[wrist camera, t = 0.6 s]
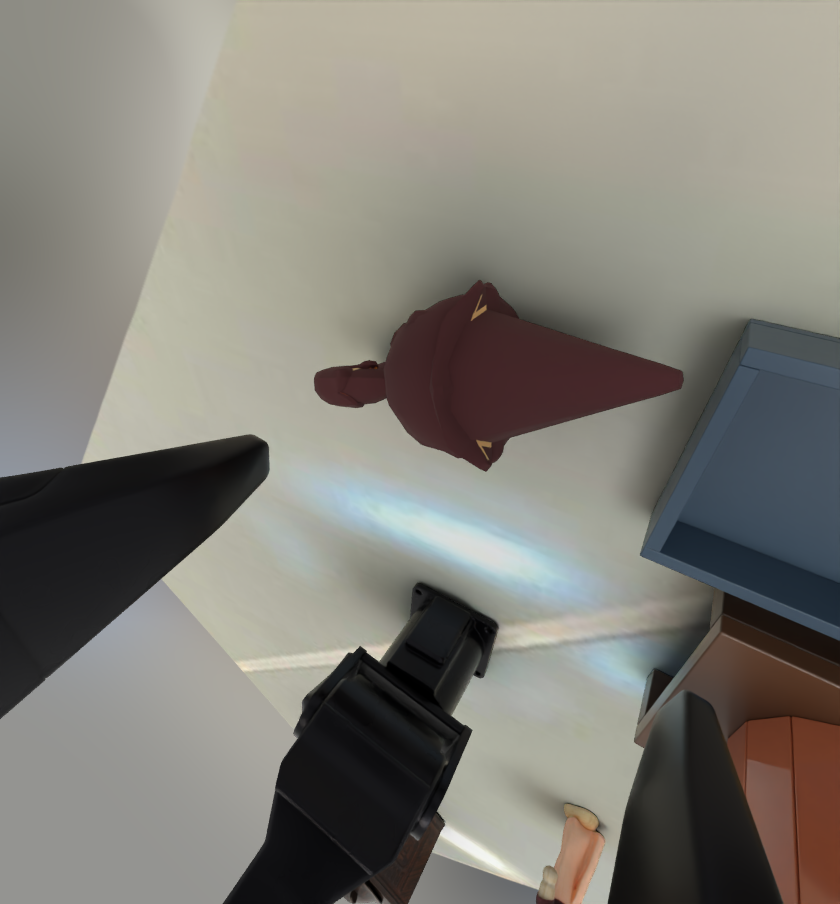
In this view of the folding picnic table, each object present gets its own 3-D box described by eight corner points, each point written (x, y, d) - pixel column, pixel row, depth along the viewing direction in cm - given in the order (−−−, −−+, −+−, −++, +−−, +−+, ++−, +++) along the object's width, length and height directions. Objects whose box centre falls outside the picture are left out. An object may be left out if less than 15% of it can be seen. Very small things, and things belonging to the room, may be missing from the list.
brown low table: (905, 812, 23) (925, 910, 20) (646, 678, 27) (632, 742, 24) (1099, 716, 17) (1167, 836, 14) (725, 564, 21) (720, 631, 18)
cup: (873, 855, 20) (913, 1120, 15) (703, 760, 22) (684, 958, 17) (999, 799, 16) (1117, 1134, 11) (776, 691, 18) (781, 920, 13)
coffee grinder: (451, 826, 55) (357, 1038, 42) (395, 809, 63) (301, 984, 50) (371, 728, 53) (246, 920, 40) (323, 723, 61) (206, 882, 48)
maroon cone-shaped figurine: (663, 242, 11) (281, 300, 20) (647, 531, 13) (304, 465, 22) (712, 259, 16) (389, 299, 26) (695, 465, 18) (401, 433, 27)
